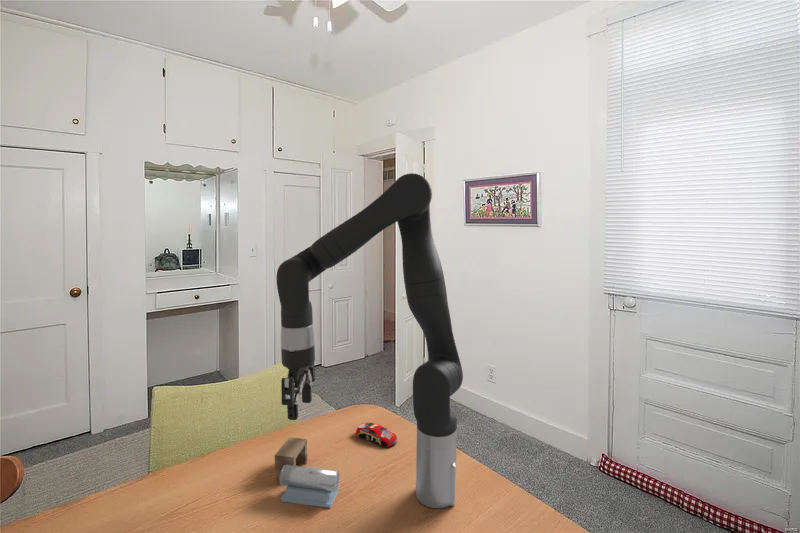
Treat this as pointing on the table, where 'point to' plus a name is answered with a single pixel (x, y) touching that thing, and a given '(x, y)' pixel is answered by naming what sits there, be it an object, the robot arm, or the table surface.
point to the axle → (309, 477)
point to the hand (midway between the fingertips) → (300, 410)
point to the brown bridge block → (290, 454)
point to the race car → (376, 434)
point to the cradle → (309, 496)
